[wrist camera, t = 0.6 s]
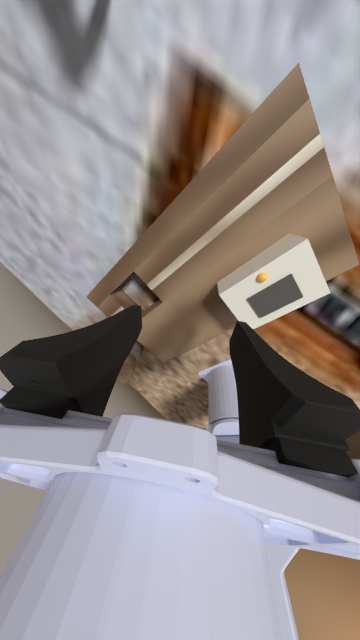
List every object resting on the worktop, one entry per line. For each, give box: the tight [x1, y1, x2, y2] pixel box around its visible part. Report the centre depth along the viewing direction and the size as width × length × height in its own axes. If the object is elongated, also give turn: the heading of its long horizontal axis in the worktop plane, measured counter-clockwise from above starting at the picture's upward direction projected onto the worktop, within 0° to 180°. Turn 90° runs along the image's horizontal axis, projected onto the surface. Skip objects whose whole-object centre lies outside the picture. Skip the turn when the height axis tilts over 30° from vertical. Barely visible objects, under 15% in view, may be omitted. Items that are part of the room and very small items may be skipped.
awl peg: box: [116, 341, 143, 383], centre depth 25 cm, size 3×3×6 cm
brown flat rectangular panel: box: [87, 63, 359, 363], centre depth 18 cm, size 14×24×2 cm, turn 130°
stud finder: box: [217, 233, 330, 329], centre depth 14 cm, size 5×7×3 cm
